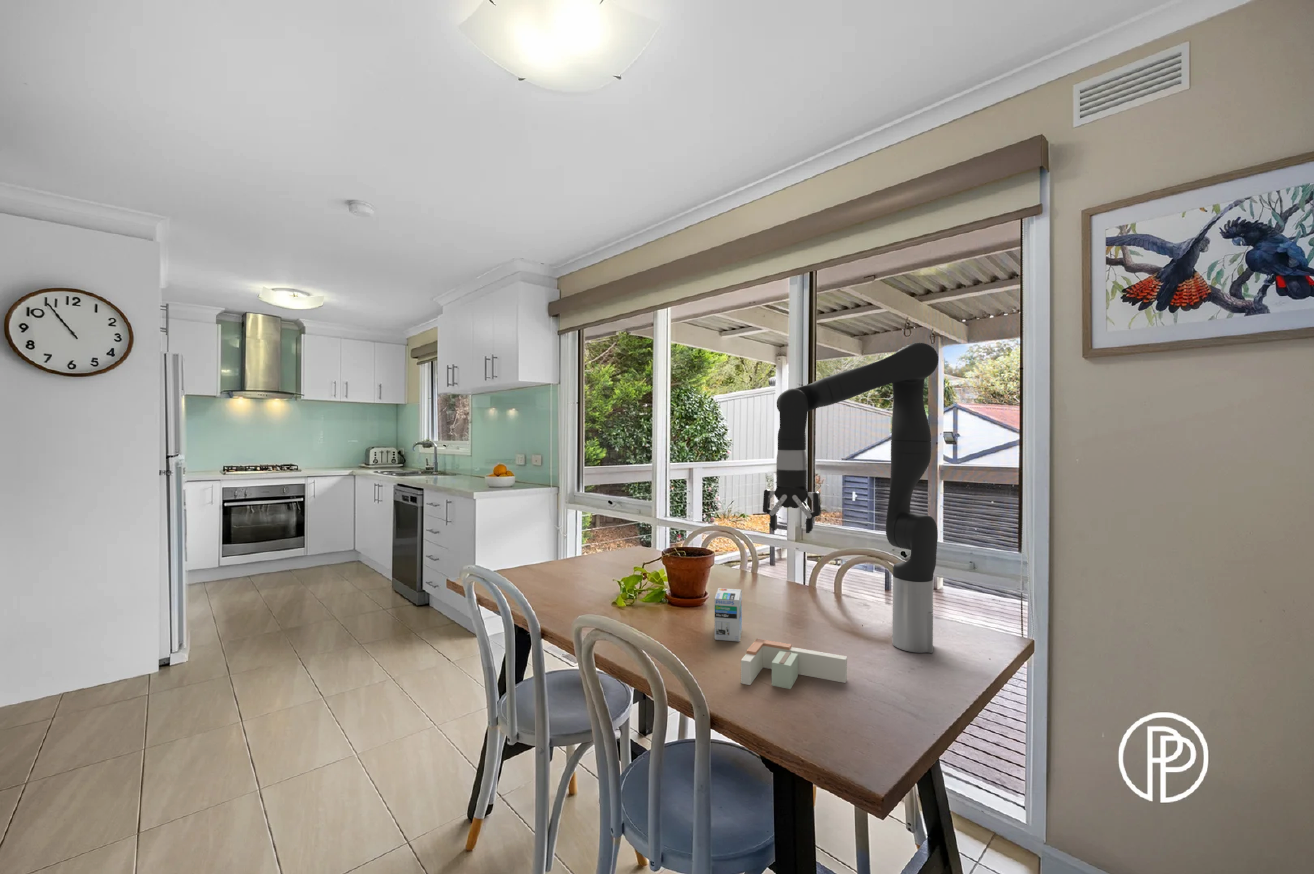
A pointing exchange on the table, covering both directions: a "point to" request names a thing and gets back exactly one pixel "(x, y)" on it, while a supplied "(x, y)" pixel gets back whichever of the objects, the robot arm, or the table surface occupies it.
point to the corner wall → (808, 661)
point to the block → (784, 669)
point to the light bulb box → (728, 614)
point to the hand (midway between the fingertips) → (791, 531)
